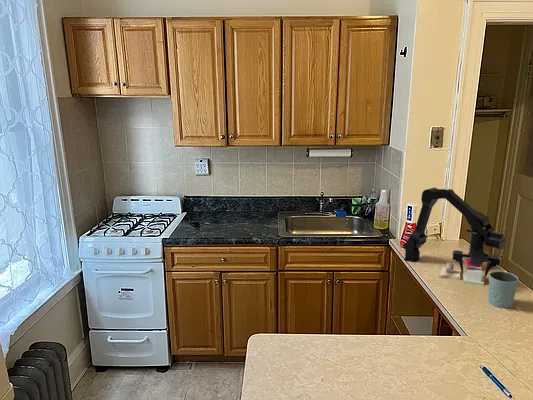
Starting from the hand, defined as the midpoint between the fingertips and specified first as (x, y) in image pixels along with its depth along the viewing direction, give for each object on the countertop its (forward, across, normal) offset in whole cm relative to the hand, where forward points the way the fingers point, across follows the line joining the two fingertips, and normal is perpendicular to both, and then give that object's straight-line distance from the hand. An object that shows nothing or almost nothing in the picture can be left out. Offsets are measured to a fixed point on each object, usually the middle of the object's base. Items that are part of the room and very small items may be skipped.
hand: (473, 275), depth 179 cm
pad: (+2, 0, 0) cm, 2 cm away
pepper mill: (+3, +1, +15) cm, 15 cm away
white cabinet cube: (+2, 0, 0) cm, 2 cm away
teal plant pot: (+3, +9, -19) cm, 21 cm away
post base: (+2, -10, +2) cm, 10 cm away
